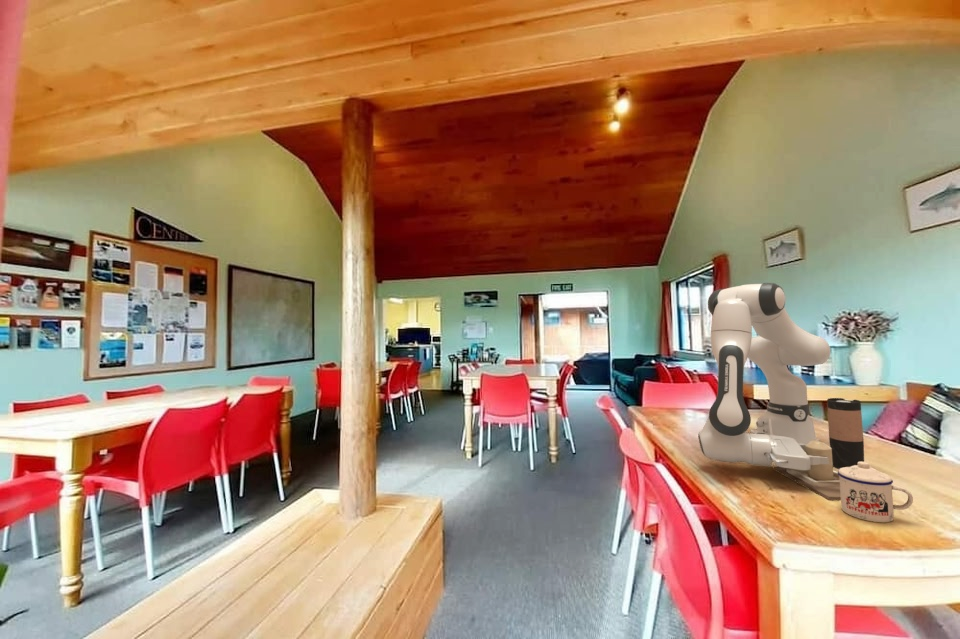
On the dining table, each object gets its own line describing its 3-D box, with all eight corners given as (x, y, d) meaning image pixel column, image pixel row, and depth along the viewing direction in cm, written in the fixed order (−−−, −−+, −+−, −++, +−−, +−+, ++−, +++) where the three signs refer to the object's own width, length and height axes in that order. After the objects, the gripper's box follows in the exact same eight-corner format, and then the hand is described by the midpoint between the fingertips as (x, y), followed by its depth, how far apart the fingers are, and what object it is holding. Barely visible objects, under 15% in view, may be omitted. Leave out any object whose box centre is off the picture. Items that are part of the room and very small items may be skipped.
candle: (839, 481, 108) (836, 443, 108) (819, 482, 108) (816, 444, 108) (821, 473, 114) (819, 438, 114) (802, 474, 114) (800, 439, 114)
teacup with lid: (841, 516, 91) (838, 464, 91) (838, 502, 98) (835, 454, 98) (919, 531, 83) (915, 475, 83) (910, 514, 90) (906, 462, 90)
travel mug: (839, 471, 117) (834, 402, 118) (825, 462, 124) (821, 397, 125) (872, 472, 115) (867, 402, 115) (856, 463, 122) (851, 398, 123)
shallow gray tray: (773, 469, 121) (772, 462, 121) (819, 468, 119) (819, 462, 120) (829, 500, 99) (828, 492, 99) (886, 500, 98) (886, 491, 98)
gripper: (767, 449, 108) (834, 454, 101) (757, 430, 125) (813, 434, 119) (768, 472, 107) (835, 480, 101) (758, 450, 125) (815, 456, 119)
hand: (823, 455), depth 110 cm, fingers open, 8 cm apart
